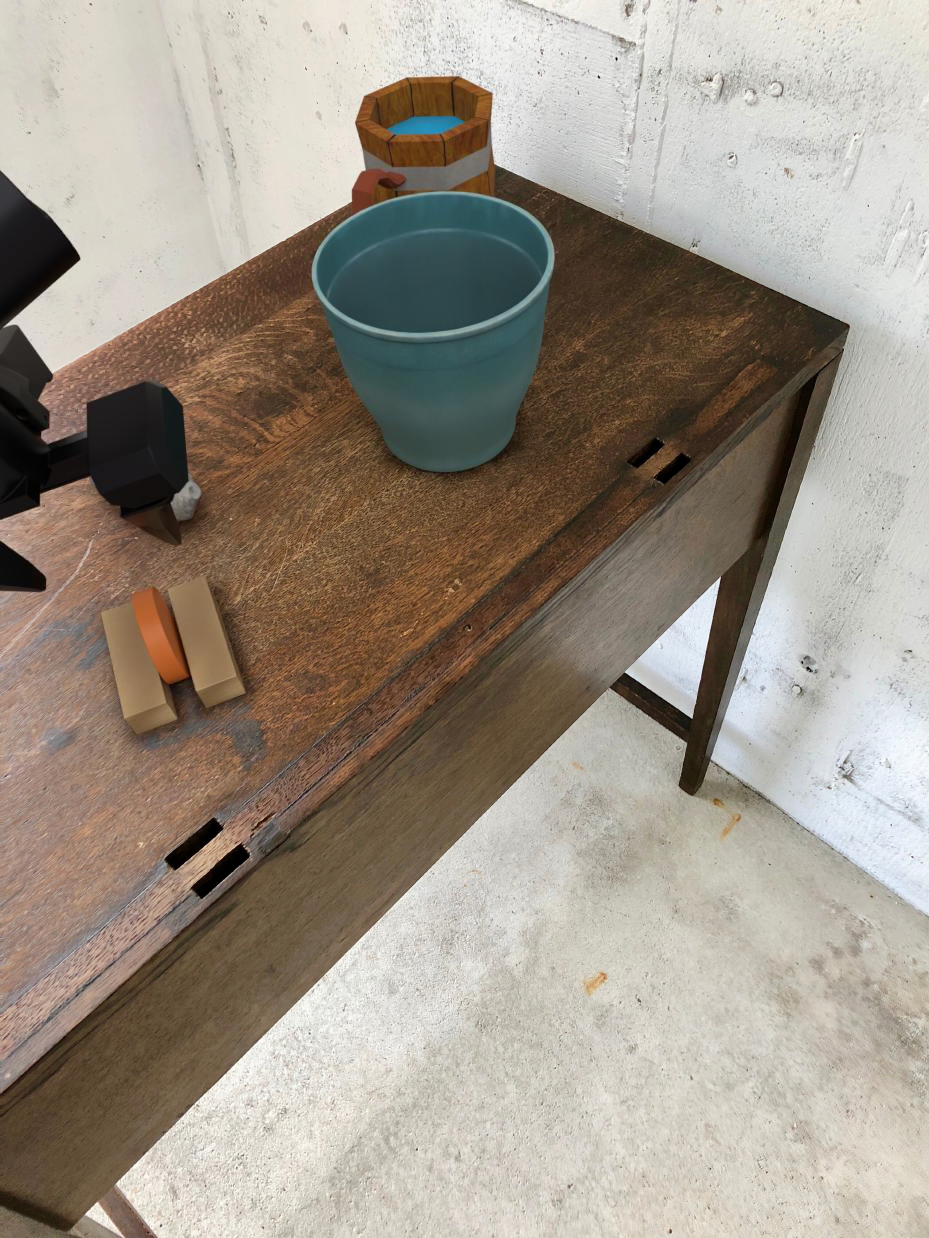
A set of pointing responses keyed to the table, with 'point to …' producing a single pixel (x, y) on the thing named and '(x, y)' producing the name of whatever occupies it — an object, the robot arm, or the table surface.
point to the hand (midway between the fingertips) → (110, 562)
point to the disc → (160, 635)
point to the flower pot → (438, 319)
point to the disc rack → (203, 646)
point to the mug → (424, 140)
